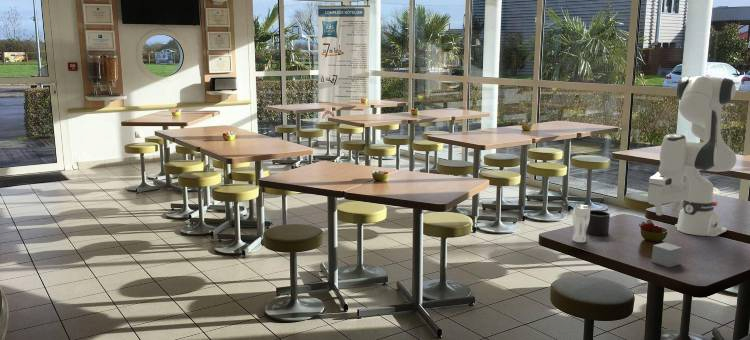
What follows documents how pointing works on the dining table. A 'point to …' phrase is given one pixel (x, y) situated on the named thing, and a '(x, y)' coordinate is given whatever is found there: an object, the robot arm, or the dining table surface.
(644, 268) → the dining table surface
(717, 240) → the dining table surface
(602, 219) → the mug
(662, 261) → the grey block
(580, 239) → the beer glass
